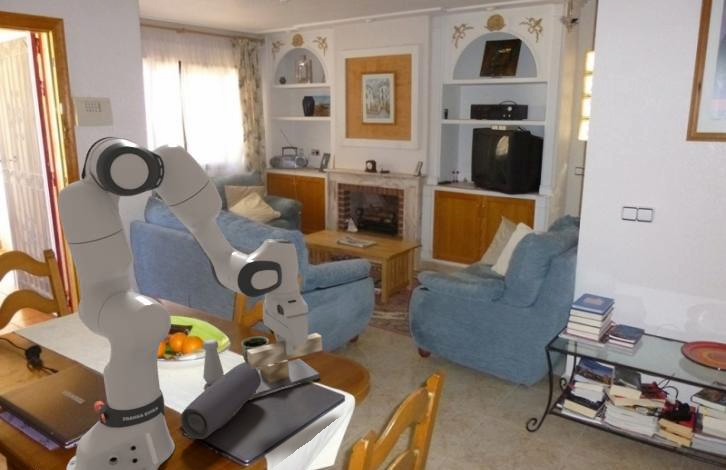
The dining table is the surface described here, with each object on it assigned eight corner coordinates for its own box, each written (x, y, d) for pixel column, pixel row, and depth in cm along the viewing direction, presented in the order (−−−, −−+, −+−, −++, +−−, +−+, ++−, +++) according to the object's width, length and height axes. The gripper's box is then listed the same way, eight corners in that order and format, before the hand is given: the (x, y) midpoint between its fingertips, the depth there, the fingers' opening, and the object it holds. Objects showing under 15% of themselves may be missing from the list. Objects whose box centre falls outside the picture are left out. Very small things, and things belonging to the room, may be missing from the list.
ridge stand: (248, 401, 148) (245, 373, 146) (231, 383, 158) (229, 357, 157) (319, 378, 159) (318, 352, 157) (299, 362, 170) (298, 338, 168)
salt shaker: (218, 387, 156) (214, 345, 153) (200, 386, 157) (195, 344, 154) (227, 378, 161) (223, 337, 159) (210, 377, 162) (205, 336, 160)
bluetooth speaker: (236, 392, 151) (230, 359, 148) (265, 396, 147) (260, 362, 145) (182, 441, 130) (175, 403, 128) (214, 446, 127) (207, 408, 124)
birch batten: (252, 368, 137) (251, 354, 136) (247, 364, 139) (246, 350, 138) (322, 350, 147) (321, 336, 147) (317, 346, 150) (316, 332, 149)
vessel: (256, 350, 180) (255, 332, 179) (279, 354, 177) (277, 336, 175) (233, 365, 170) (231, 346, 169) (256, 370, 166) (254, 351, 165)
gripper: (255, 292, 147) (258, 341, 150) (288, 312, 130) (290, 366, 133) (277, 288, 150) (279, 336, 153) (311, 307, 134) (313, 360, 136)
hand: (285, 350), depth 143 cm, fingers closed on birch batten, 3 cm apart
